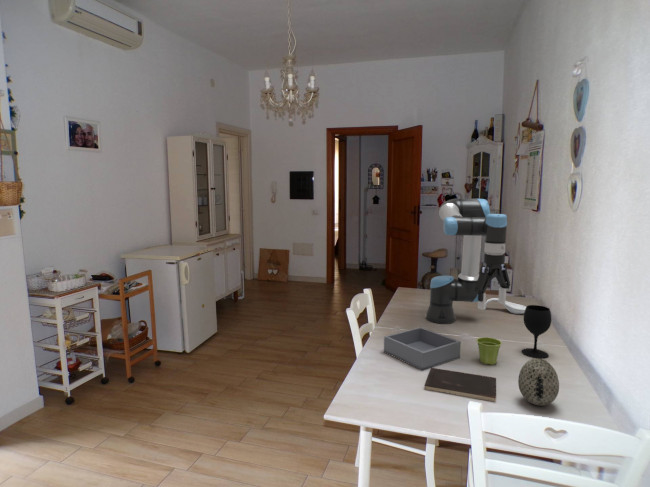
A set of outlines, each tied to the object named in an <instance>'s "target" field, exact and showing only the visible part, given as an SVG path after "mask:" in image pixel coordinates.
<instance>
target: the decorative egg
mask: <svg viewBox="0 0 650 487" xmlns="http://www.w3.org/2000/svg"><path fill="white" fill-rule="evenodd" d="M517 383H518V388H519V391H520V394H521V396H523V398H524V399H525V400H526V401H527V402H529V403H530V404H532V405H535V406H538V407H539V406H540V407H541V406H543V407H544V406H548V405H550V404H552V403H553V402H554V401H555V400H556V399H557V397H558V395H559V391H560V381H559V376H558V374H557V371H556V369H555V368H554V367H553V365H552V364H551V363H550V362H549V361H547V360H546V359H544V358H543V359H540V358H531V359H529V360H527V361H526V362H525V363H524V364H523V365H522V367H521V369H520V370H519V374H518V382H517Z"/></svg>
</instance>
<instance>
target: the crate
mask: <svg viewBox="0 0 650 487" xmlns="http://www.w3.org/2000/svg"><path fill="white" fill-rule="evenodd" d="M461 343H462V342H461V341H460V340H457V339H455V338H452V337H449V336H446V335H443V334H441V333H437V332H435V331H432V330H430V329H426V328H424V327H421V326H418V327H415V328H412V329H408V330H404V331H401V332H397V333H396V332H395V333H393V334H388V335H386V336H384V338H383V353H384V352H386V353H385V354H387V353H388V354H387V355H389V354H390V355H389V356H391V355H393V356H395V357H397V358H399V359H401V360H403V361H405V362H404V363H406V362H407V363H406V364H408V363H409V364H408V365H410V364H411V365H410V366H412V365H413V367H414V366H415V367H414V368H416V367H417V369H418V368H419V369H418V370H420V369H421V371H426V370H429V369H431V368H436V367H437V366H440V365H443V364H446V363H448V362H452V361H455V360H458V359H460V358H461ZM393 356H392V357H393ZM395 357H394V358H395ZM397 358H396V359H397ZM399 359H398V360H399ZM401 360H400V361H401ZM403 361H402V362H403Z"/></svg>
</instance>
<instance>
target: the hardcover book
mask: <svg viewBox="0 0 650 487" xmlns="http://www.w3.org/2000/svg"><path fill="white" fill-rule="evenodd" d="M429 369H430V370H429V371H428V375H427V378H426V380H425V383H424V386H425V388H424V389H425V390H427V389H429V390H428V391H432V390H434V391H433V392H438V391H440V392H439V393H443V392H446V393H445V394H449V393H451V395H455V394H456V395H457V396H460V395H461V396H460V397H466V396H467V397H466V398H472V397H473V398H472V399H479V400H484V401H490V402H493V403H494V402H496V400H497V377H494V376H488V375H481V374H474V373H468V372H461V371H455V370H448V369H442V368H436V367H432V368H429ZM456 395H455V396H456Z"/></svg>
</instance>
